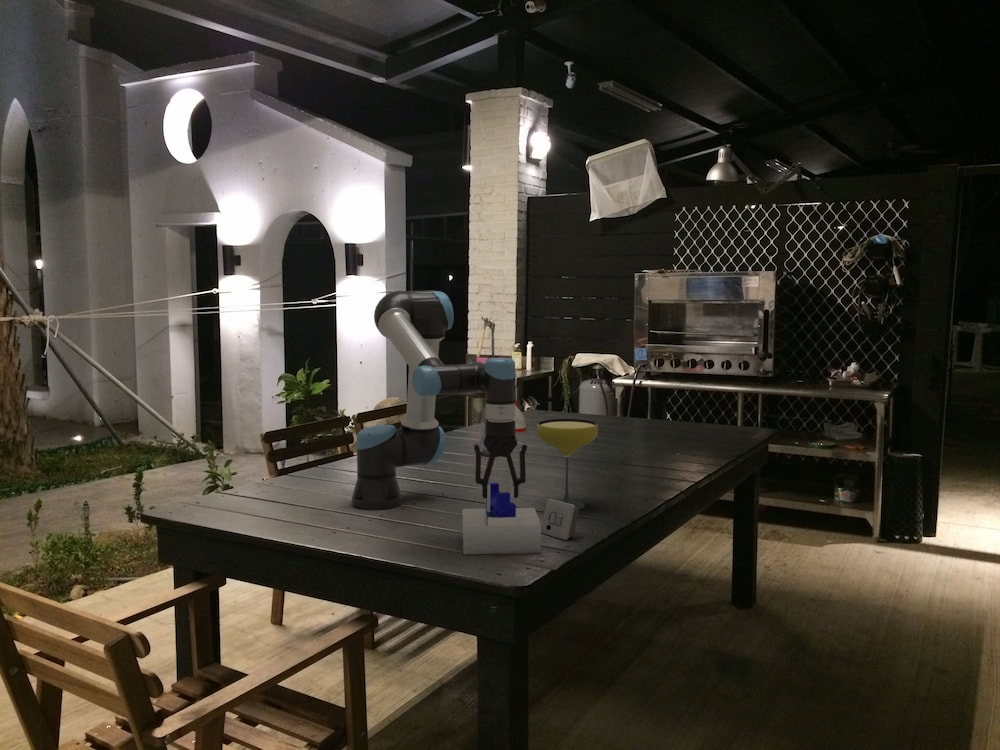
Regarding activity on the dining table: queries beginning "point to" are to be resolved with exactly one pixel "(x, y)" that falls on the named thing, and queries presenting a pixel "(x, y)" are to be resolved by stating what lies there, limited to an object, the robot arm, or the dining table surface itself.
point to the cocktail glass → (567, 440)
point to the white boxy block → (501, 532)
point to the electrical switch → (559, 519)
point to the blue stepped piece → (501, 502)
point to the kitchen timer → (519, 419)
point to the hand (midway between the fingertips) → (500, 510)
